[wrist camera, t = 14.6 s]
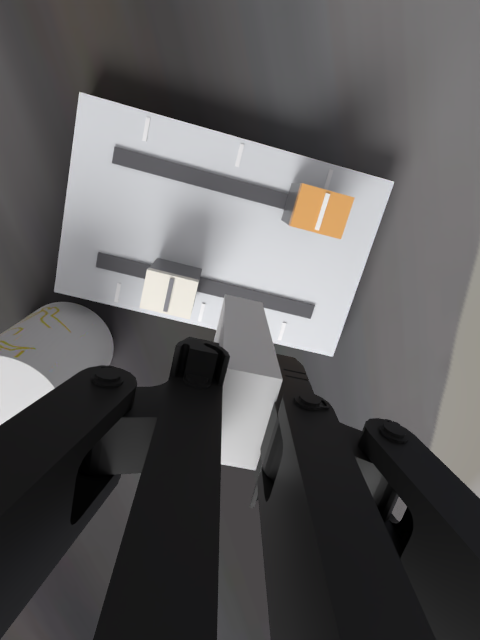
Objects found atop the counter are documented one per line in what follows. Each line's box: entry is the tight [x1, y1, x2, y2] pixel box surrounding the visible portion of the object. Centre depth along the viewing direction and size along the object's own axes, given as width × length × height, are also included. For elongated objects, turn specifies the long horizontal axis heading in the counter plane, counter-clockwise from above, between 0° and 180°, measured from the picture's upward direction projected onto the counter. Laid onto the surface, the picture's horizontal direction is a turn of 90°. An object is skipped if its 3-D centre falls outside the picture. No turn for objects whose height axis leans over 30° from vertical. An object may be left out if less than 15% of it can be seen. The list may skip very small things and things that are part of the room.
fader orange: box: [281, 183, 354, 239], centre depth 30 cm, size 3×4×5 cm
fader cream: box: [139, 258, 202, 320], centre depth 31 cm, size 3×4×5 cm
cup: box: [0, 302, 114, 425], centre depth 32 cm, size 8×8×12 cm
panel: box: [54, 92, 394, 357], centre depth 34 cm, size 15×24×3 cm, turn 75°
